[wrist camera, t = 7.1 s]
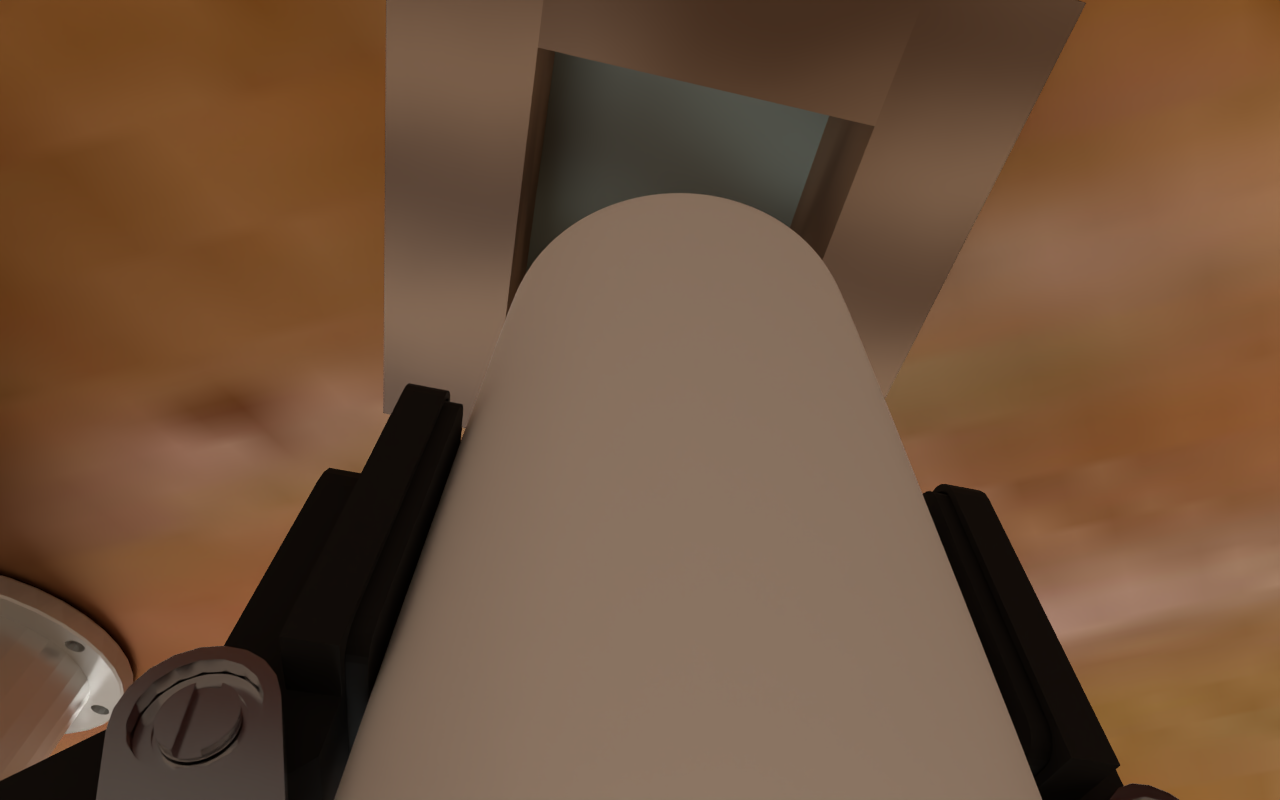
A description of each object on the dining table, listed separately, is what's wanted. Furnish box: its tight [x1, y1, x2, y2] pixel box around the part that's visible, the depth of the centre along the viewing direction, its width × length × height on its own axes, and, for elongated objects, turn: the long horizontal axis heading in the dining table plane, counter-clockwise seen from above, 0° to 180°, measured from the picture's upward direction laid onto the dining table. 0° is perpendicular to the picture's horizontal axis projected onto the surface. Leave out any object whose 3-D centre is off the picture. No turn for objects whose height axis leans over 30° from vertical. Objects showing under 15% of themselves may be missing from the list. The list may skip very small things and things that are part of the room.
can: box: [334, 193, 1042, 800], centre depth 10 cm, size 6×6×12 cm
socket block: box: [383, 0, 1086, 428], centre depth 20 cm, size 14×14×4 cm
